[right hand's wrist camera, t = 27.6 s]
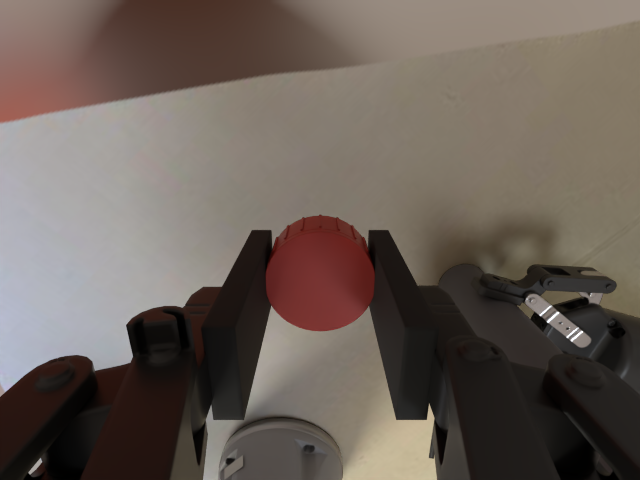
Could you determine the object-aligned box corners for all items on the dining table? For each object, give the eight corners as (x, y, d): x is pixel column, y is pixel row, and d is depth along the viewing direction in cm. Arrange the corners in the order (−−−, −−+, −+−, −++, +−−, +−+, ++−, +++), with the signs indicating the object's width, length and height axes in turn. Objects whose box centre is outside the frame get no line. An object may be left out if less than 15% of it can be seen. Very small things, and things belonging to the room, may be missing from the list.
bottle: (495, 289, 38) (701, 504, 17) (453, 314, 39) (603, 546, 18) (470, 254, 36) (664, 444, 16) (428, 282, 37) (560, 493, 17)
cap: (359, 202, 14) (365, 217, 12) (379, 294, 15) (387, 319, 13) (257, 227, 14) (248, 245, 12) (286, 314, 15) (281, 342, 14)
